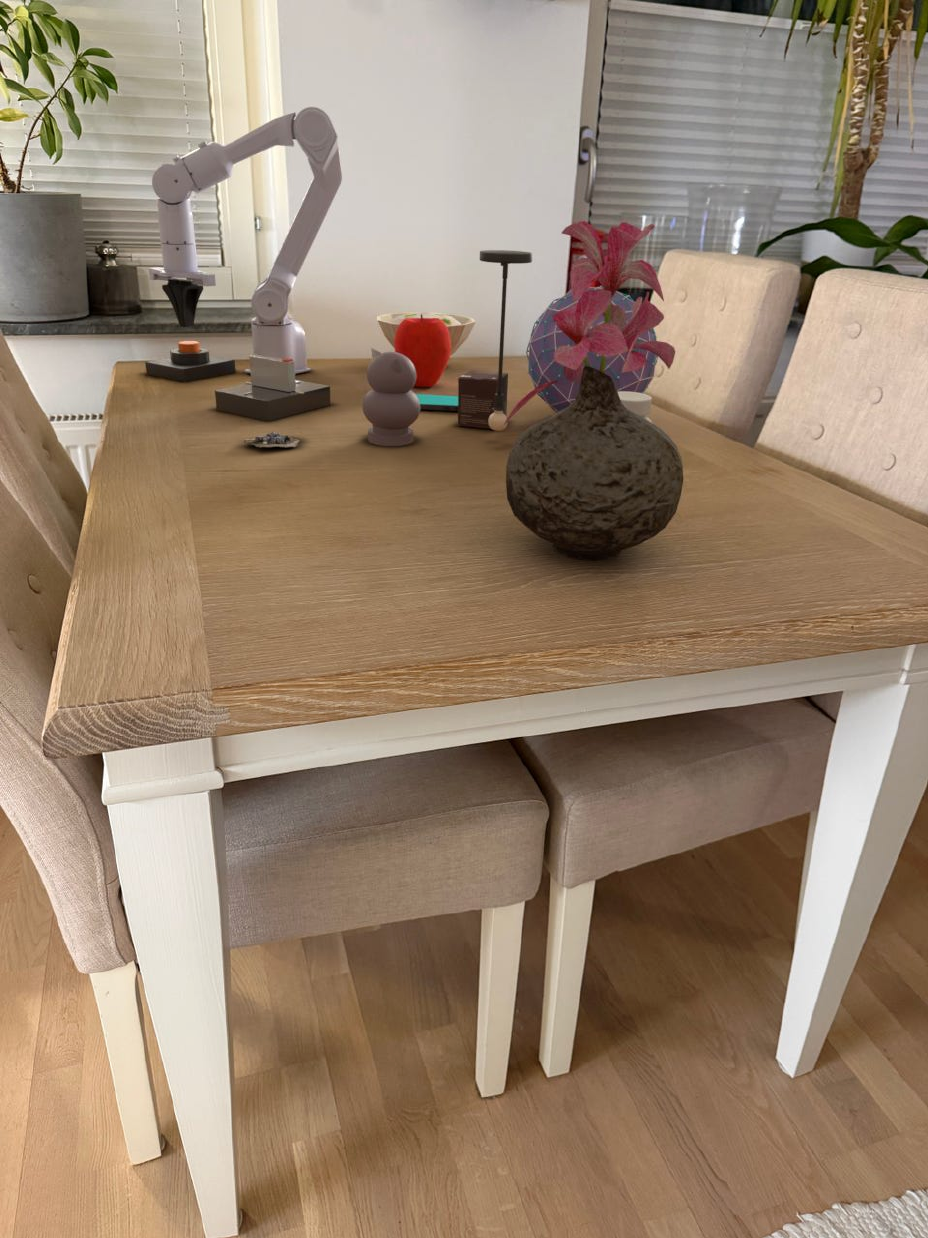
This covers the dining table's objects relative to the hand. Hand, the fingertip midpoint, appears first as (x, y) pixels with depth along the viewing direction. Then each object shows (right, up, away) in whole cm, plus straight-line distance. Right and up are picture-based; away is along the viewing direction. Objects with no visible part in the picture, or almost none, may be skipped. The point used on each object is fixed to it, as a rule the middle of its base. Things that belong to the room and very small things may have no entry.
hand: (186, 326), depth 158 cm
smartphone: (+46, -18, -14) cm, 51 cm away
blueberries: (+23, -29, -38) cm, 53 cm away
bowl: (+42, -3, +16) cm, 45 cm away
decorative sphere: (+68, -21, -19) cm, 74 cm away
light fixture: (+54, -28, -35) cm, 70 cm away
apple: (+42, -11, 0) cm, 43 cm away
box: (+52, -23, -24) cm, 62 cm away
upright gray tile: (+20, -16, -20) cm, 32 cm away
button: (0, -4, +2) cm, 5 cm away
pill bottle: (+68, -37, -51) cm, 93 cm away
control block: (0, -7, +4) cm, 8 cm away
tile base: (+20, -19, -18) cm, 33 cm away
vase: (+61, -45, -69) cm, 103 cm away
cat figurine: (+39, -27, -34) cm, 58 cm away
